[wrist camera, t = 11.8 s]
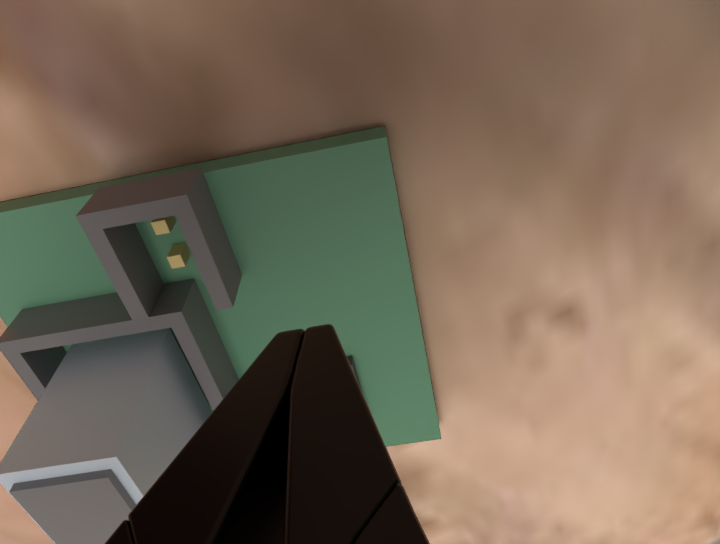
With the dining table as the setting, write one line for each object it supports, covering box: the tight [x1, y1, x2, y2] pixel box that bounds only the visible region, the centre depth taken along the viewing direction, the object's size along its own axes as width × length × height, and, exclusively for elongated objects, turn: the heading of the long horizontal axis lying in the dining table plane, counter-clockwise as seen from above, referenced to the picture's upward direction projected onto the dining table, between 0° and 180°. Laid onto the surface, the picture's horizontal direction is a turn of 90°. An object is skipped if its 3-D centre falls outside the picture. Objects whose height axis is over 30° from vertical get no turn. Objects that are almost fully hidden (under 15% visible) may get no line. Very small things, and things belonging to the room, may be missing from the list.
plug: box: [0, 328, 212, 544], centre depth 21 cm, size 4×6×6 cm
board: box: [0, 126, 441, 447], centre depth 23 cm, size 16×15×3 cm
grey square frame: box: [0, 279, 239, 411], centre depth 23 cm, size 7×8×2 cm
